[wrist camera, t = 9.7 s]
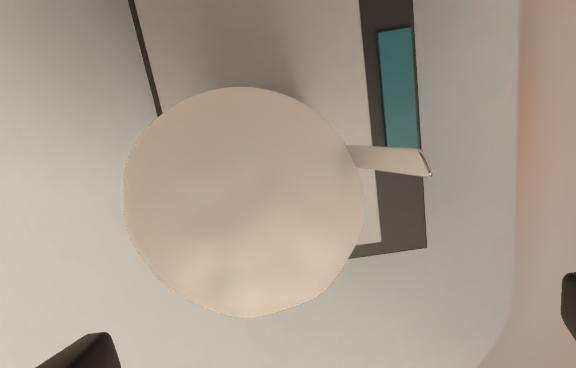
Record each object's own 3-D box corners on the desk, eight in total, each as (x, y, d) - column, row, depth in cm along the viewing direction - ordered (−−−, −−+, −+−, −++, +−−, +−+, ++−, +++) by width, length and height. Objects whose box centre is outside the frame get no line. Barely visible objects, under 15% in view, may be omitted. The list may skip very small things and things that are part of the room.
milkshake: (365, 144, 16) (485, 294, 6) (242, 206, 16) (182, 422, 7) (312, 31, 14) (358, 1, 5) (181, 104, 15) (5, 197, 6)
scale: (390, -80, 16) (412, -108, 13) (411, 225, 20) (432, 254, 17) (138, -35, 16) (108, -53, 14) (209, 254, 21) (196, 287, 18)
